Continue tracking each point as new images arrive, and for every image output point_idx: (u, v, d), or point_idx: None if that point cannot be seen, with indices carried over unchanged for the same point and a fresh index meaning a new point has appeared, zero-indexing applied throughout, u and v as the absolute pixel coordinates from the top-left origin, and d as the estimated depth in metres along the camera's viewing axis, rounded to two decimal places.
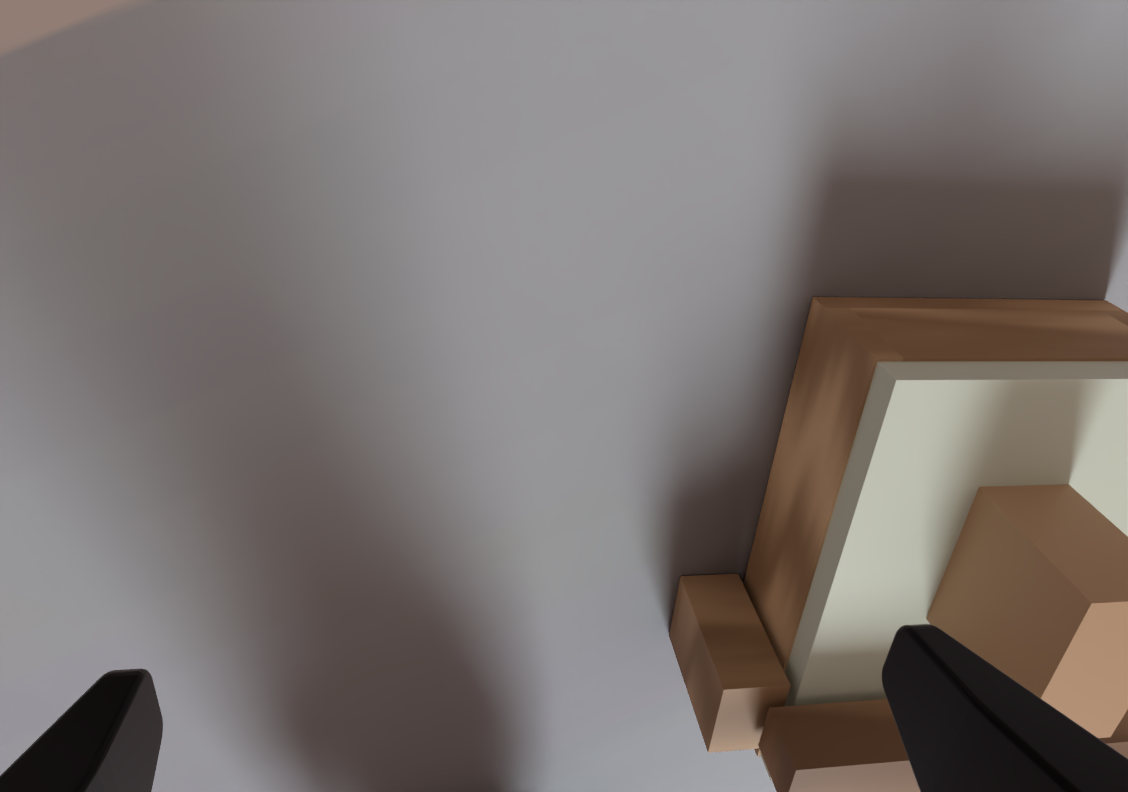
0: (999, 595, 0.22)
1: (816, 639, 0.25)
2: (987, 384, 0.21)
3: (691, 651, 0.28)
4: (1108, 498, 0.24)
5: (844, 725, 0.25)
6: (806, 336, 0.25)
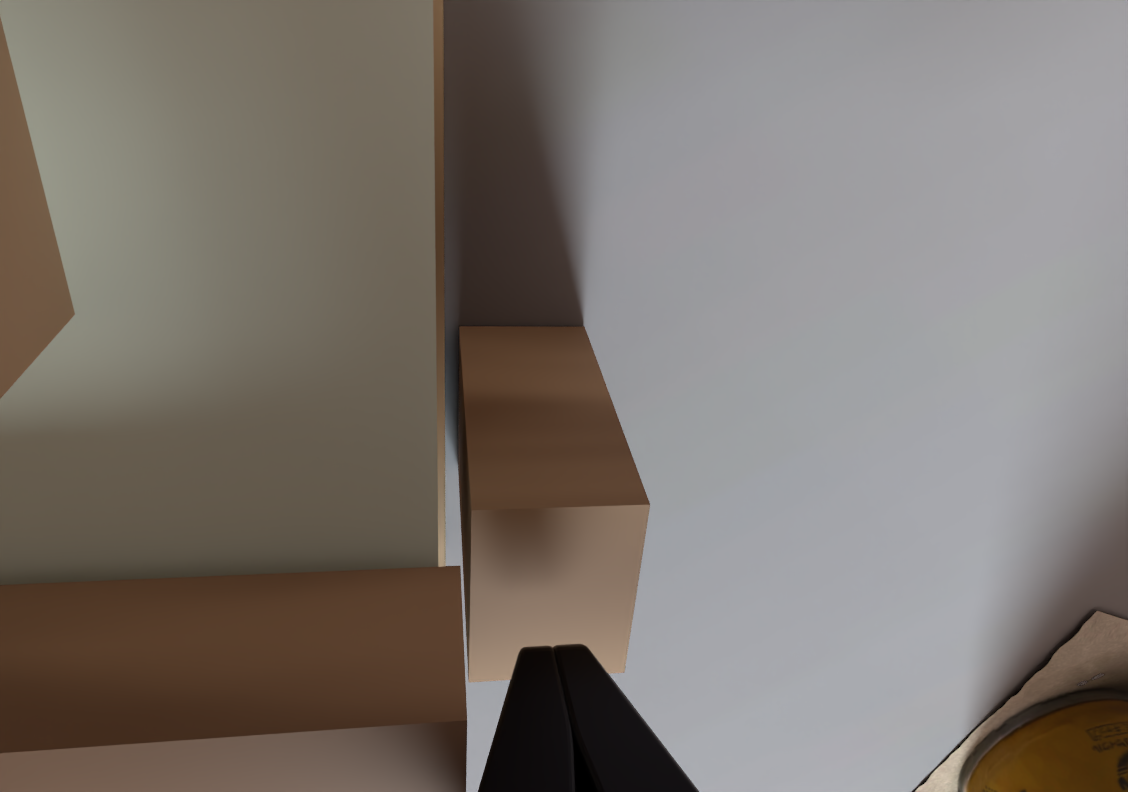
0: None
1: None
2: None
3: None
4: None
5: None
6: None
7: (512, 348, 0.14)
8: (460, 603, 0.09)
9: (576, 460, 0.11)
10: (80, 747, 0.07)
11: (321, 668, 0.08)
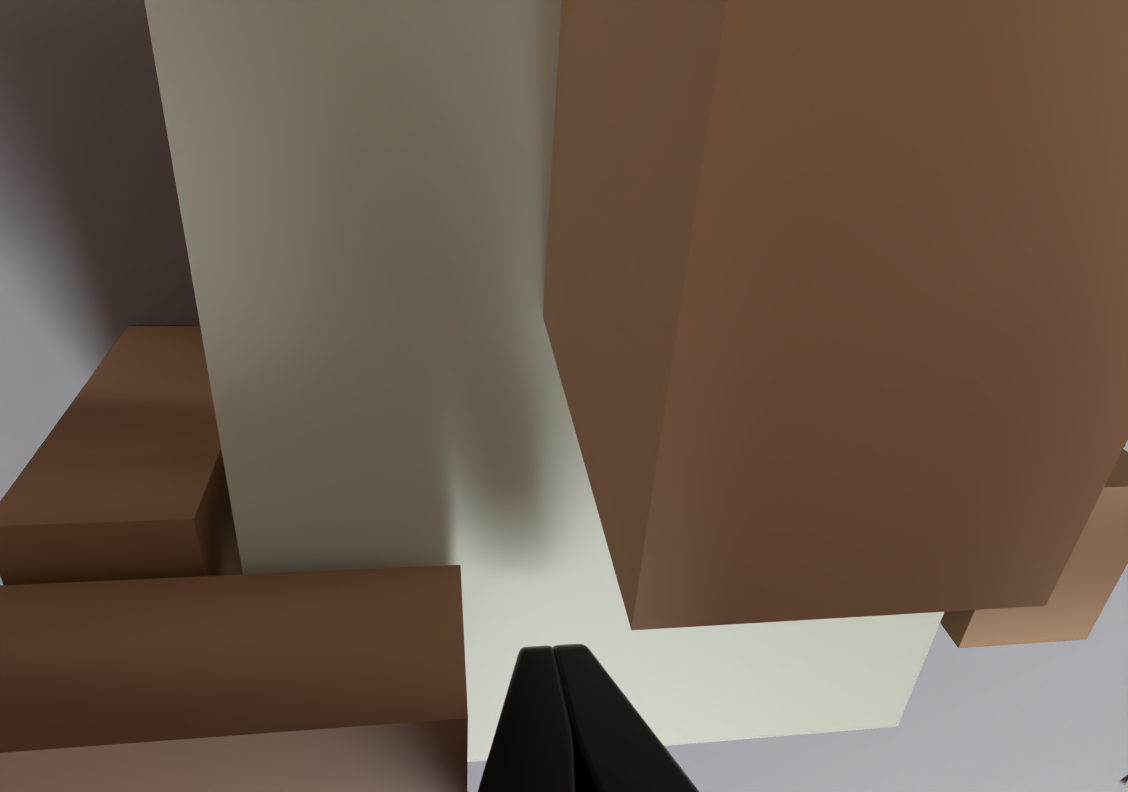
0: (604, 44, 0.05)
1: (215, 370, 0.09)
2: None
3: None
4: None
5: None
6: None
7: None
8: (460, 602, 0.09)
9: None
10: (83, 746, 0.08)
11: (322, 667, 0.08)
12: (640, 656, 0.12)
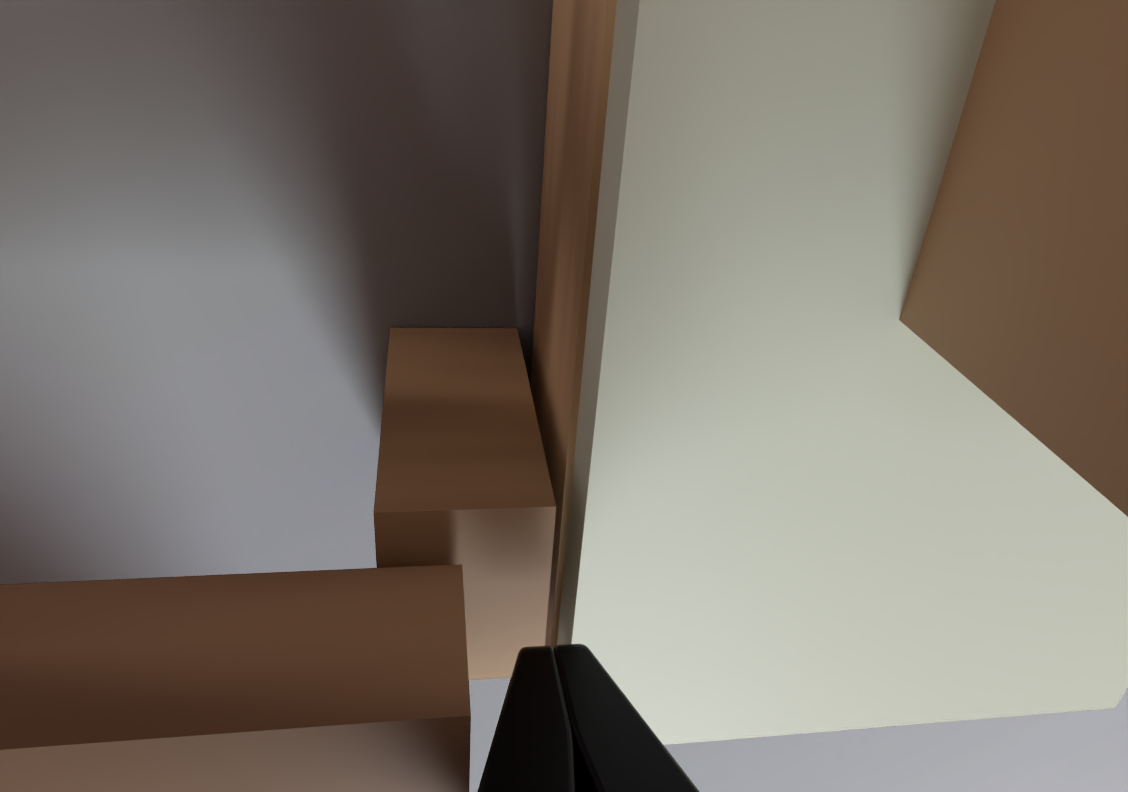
0: None
1: (606, 367, 0.09)
2: None
3: None
4: None
5: None
6: None
7: None
8: (463, 601, 0.09)
9: None
10: (90, 742, 0.08)
11: (327, 664, 0.08)
12: (905, 639, 0.12)
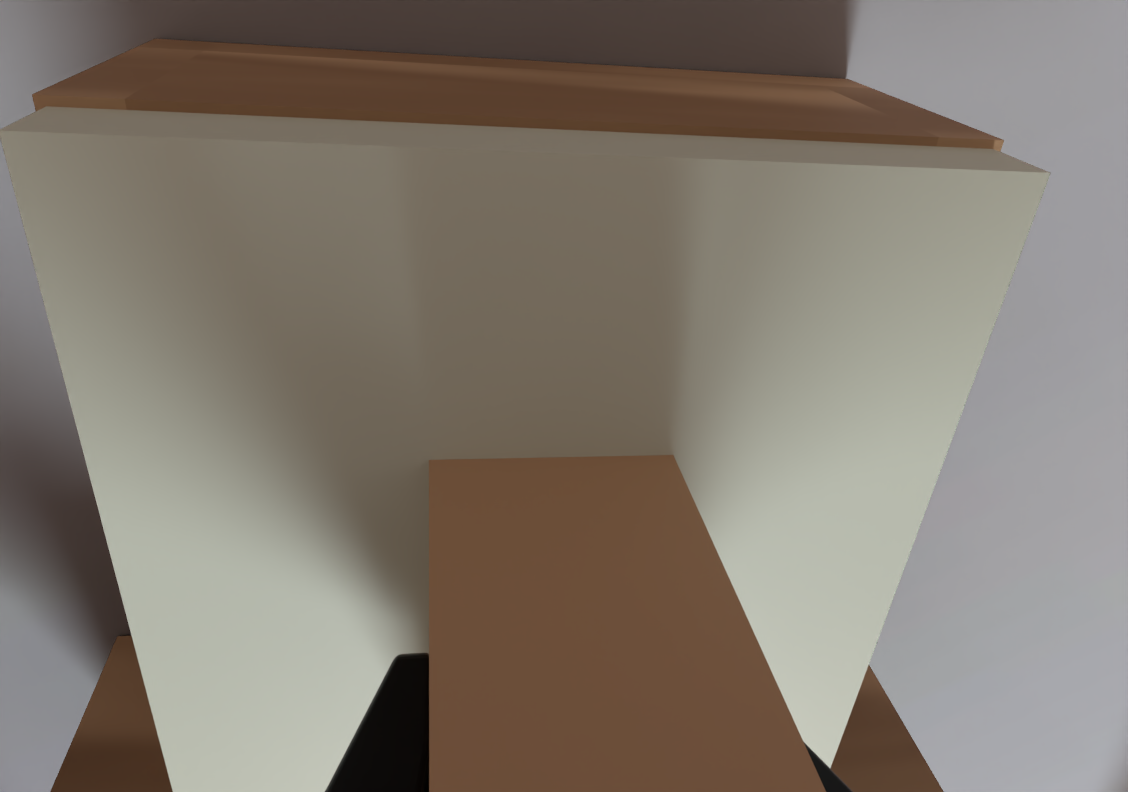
0: None
1: None
2: (321, 160, 0.07)
3: None
4: (787, 489, 0.10)
5: None
6: None
7: None
8: None
9: (885, 764, 0.15)
10: None
11: None
12: None
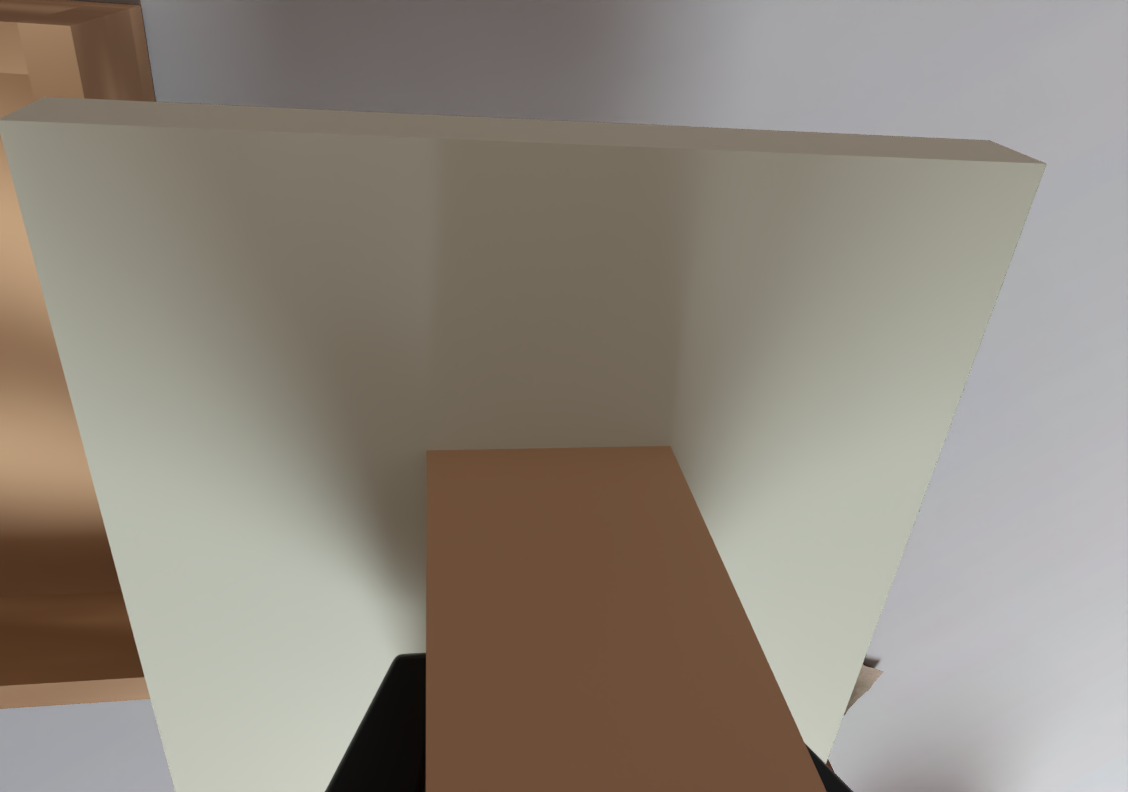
0: None
1: (179, 790, 0.11)
2: (319, 150, 0.07)
3: None
4: (784, 481, 0.10)
5: None
6: None
7: None
8: None
9: None
10: None
11: None
12: None
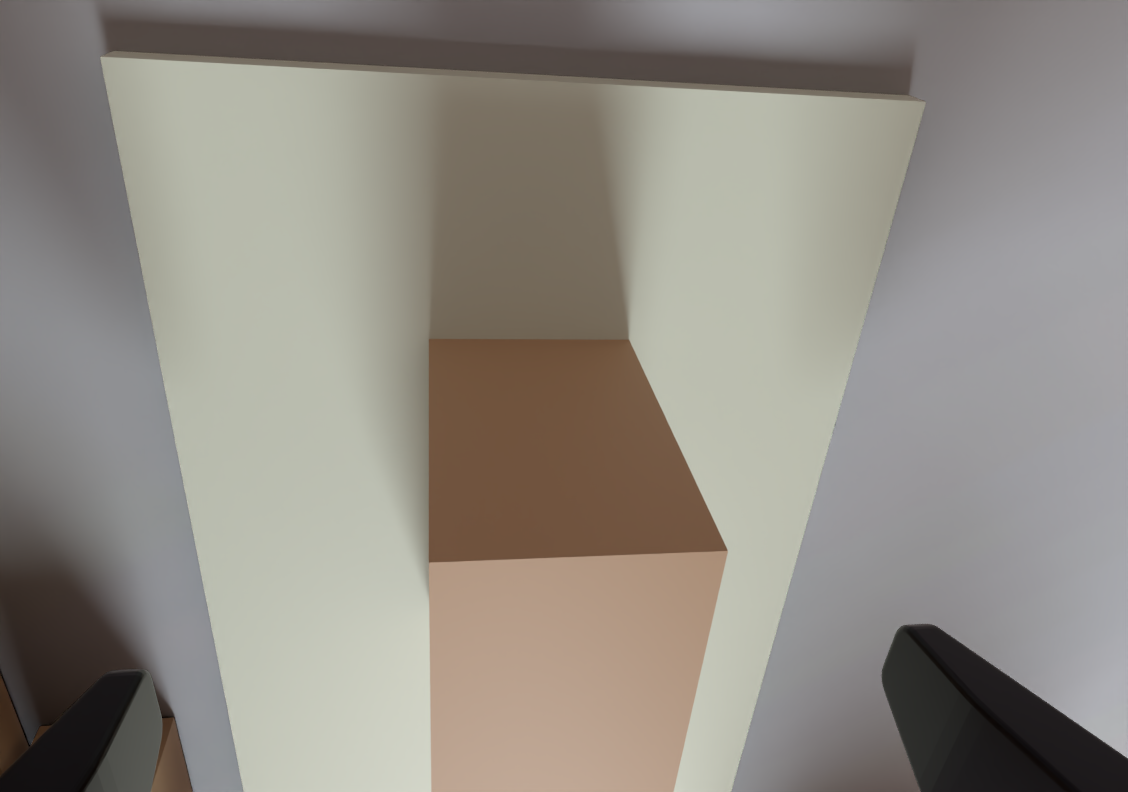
0: None
1: (219, 646, 0.13)
2: (345, 83, 0.09)
3: None
4: (725, 373, 0.12)
5: None
6: None
7: None
8: None
9: None
10: None
11: None
12: None
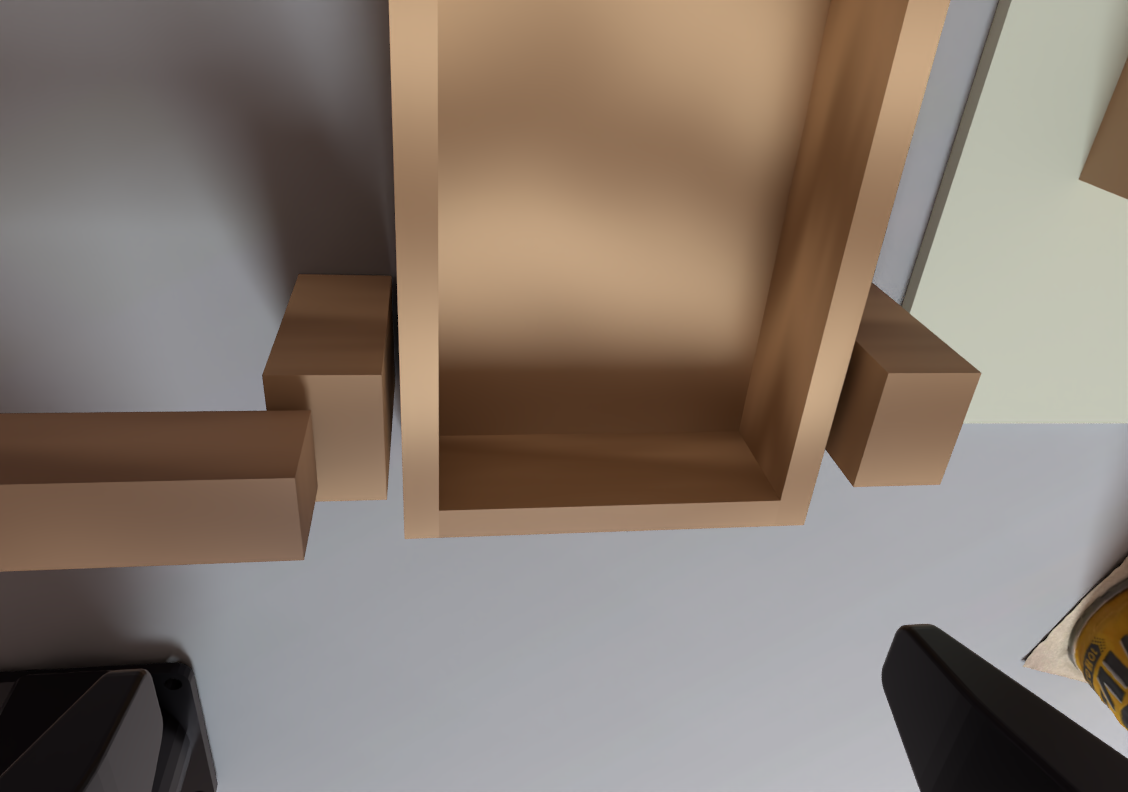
0: None
1: (950, 196, 0.21)
2: None
3: None
4: None
5: None
6: None
7: None
8: (306, 428, 0.15)
9: (925, 352, 0.19)
10: (70, 484, 0.13)
11: (213, 454, 0.14)
12: (1056, 363, 0.24)
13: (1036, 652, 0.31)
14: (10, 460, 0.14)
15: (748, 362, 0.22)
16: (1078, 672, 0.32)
